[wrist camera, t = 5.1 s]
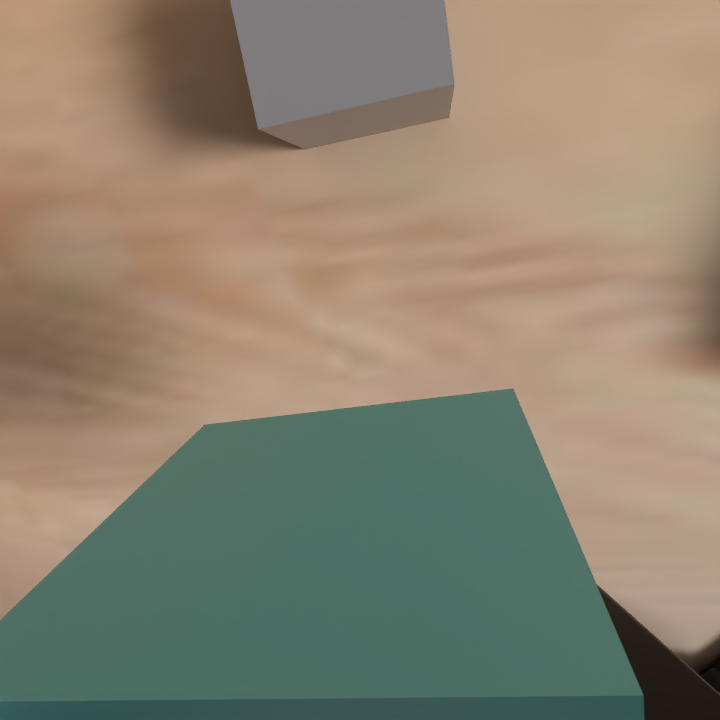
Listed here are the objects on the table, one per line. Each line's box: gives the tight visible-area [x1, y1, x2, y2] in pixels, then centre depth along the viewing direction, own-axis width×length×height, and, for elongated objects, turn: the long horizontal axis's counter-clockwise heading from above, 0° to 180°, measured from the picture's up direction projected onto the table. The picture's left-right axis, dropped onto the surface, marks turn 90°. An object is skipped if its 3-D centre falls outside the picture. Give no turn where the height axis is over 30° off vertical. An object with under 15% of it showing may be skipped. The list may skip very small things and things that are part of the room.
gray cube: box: [230, 0, 454, 149], centre depth 14 cm, size 5×5×5 cm
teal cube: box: [0, 389, 645, 720], centre depth 6 cm, size 5×5×5 cm
